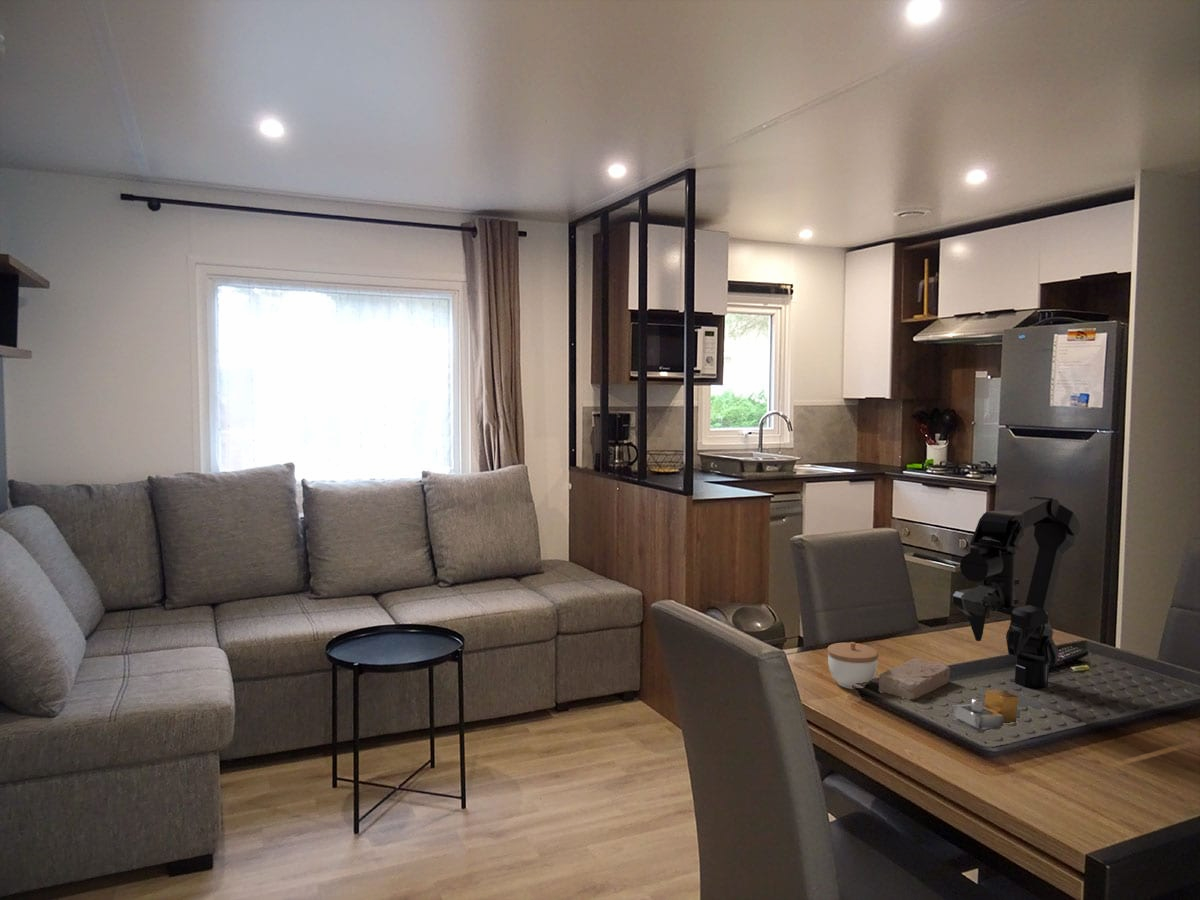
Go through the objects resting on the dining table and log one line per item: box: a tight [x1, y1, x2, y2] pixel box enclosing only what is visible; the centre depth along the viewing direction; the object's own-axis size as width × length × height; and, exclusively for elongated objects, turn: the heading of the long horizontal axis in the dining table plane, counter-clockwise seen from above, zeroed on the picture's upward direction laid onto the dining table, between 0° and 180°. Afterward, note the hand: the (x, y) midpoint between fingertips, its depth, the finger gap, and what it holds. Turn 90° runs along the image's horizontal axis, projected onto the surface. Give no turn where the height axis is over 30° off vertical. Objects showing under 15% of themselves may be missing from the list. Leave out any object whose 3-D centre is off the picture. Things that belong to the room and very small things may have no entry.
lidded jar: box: [827, 641, 879, 690], centre depth 176 cm, size 11×11×9 cm
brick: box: [878, 657, 951, 700], centre depth 173 cm, size 16×8×5 cm, turn 131°
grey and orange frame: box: [951, 689, 1020, 728], centre depth 154 cm, size 14×6×5 cm, turn 113°
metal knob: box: [952, 697, 1001, 732], centre depth 153 cm, size 6×6×5 cm
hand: (997, 647), depth 165 cm, fingers open, 9 cm apart
